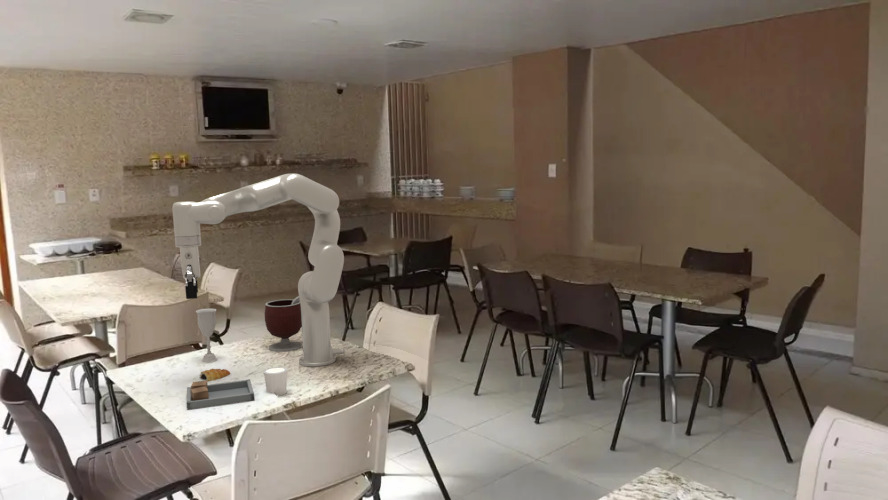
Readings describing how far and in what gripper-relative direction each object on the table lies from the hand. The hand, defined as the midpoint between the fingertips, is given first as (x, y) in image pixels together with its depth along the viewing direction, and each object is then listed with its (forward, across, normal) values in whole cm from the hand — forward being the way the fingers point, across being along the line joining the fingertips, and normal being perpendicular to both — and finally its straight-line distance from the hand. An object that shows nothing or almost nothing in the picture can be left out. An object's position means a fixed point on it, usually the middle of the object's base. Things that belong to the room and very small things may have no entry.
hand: (192, 295), depth 204 cm
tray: (+28, -21, -6) cm, 35 cm away
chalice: (+28, +24, -3) cm, 37 cm away
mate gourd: (+28, +31, -31) cm, 52 cm away
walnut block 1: (+27, -18, -1) cm, 32 cm away
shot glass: (+28, -20, -22) cm, 41 cm away
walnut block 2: (+27, -24, -1) cm, 36 cm away
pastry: (+28, 0, -5) cm, 29 cm away
